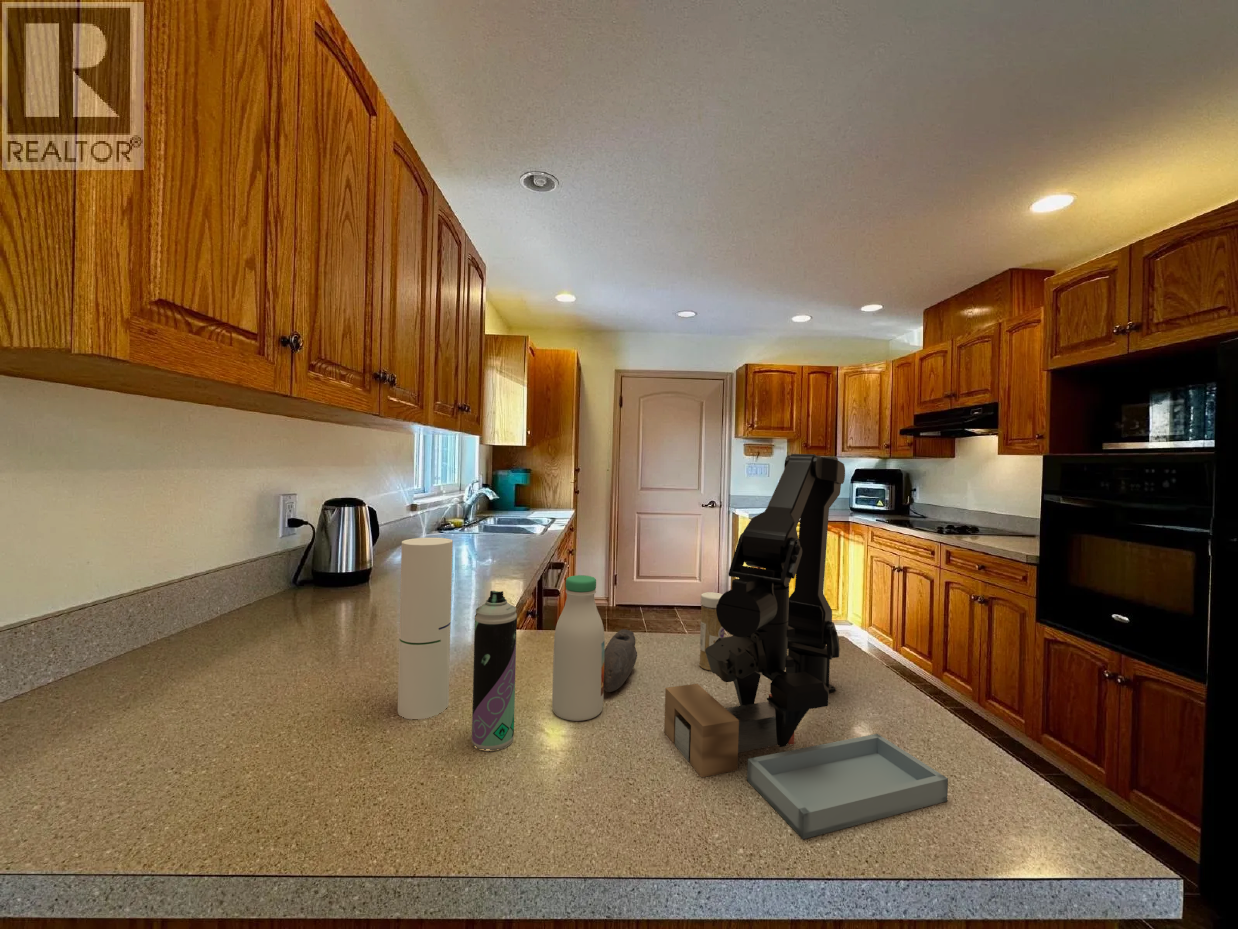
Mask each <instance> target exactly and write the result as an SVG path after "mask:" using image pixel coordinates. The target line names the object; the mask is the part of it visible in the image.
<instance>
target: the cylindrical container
mask: <svg viewBox="0 0 1238 929" xmlns="http://www.w3.org/2000/svg"><path fill="white" fill-rule="evenodd" d="M400 551H401V555H400V557H401V558H400V562H401V563H400V594H399V596H400V598H399V599H400V600H399V604H400V605H399V638H398V641H399V642H398V678H397V680H398V681H397V690H398V691H397V714H398V715H399V717H401V716H402V717H401V718H403V717H404V718H403V719H405V720H406V719H407V720H412V719H418V720H426V719H430V718H433V717H432V716H434V715H437V716H439V715H440V714H439V713H441V712H442V713H444V712H445V711H446V710H447V709H448V708H449V705H448V704H449V703H450V702H449V701H450V697H449V696H450V664H451V663H450V657H451V655H450V653H451V623H452V622H451V618H452V617H451V616H452V585H453V584H452V581H453V580H452V578H453V576H452V574H453V573H452V572H453V539H450V538H445V537H416V538H410V539H409V538H408V539H404V540H402V541H401V550H400ZM447 707H448V708H447ZM446 708H447V709H446ZM445 709H446V710H445ZM444 710H445V711H444ZM443 711H444V712H443ZM442 713H441V714H442ZM438 714H439V715H438ZM429 717H430V718H429ZM434 717H435V716H434ZM425 718H426V719H425Z"/></svg>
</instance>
